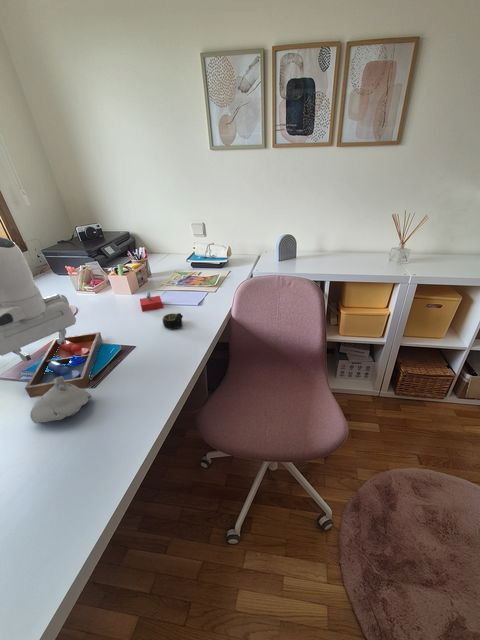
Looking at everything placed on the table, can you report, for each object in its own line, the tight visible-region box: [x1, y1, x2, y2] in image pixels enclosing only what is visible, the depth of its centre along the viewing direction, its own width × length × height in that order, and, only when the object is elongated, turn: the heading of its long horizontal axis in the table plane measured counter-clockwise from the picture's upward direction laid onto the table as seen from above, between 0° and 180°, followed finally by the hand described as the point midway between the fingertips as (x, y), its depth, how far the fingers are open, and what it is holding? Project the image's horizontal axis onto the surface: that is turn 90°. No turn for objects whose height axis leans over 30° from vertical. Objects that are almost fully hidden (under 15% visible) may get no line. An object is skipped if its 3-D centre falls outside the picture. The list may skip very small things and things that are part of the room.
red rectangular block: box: [139, 291, 164, 313], centre depth 121 cm, size 8×7×6 cm
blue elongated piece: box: [48, 361, 81, 380], centre depth 84 cm, size 12×4×3 cm, turn 60°
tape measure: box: [161, 312, 184, 330], centre depth 108 cm, size 7×7×4 cm
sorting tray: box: [24, 332, 103, 398], centre depth 89 cm, size 14×26×3 cm, turn 15°
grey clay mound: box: [29, 376, 93, 424], centre depth 71 cm, size 12×12×11 cm
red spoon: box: [60, 340, 90, 355], centre depth 93 cm, size 12×4×3 cm, turn 60°
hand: (45, 351), depth 83 cm, fingers open, 8 cm apart
